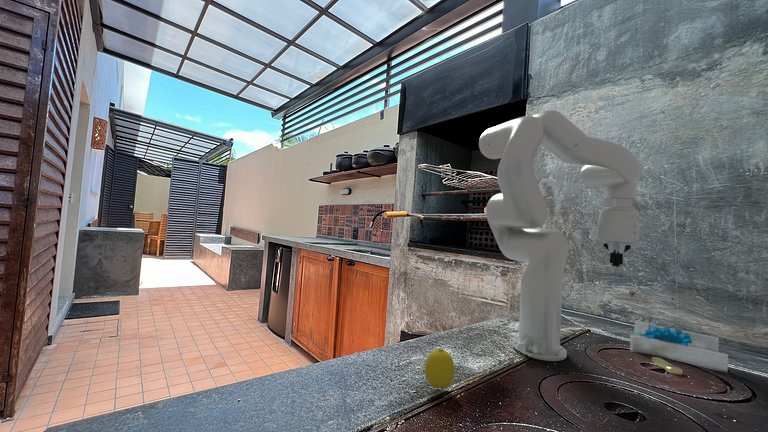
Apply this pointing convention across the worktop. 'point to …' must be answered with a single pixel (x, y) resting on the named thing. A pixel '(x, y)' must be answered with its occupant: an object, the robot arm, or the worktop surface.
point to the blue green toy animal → (668, 335)
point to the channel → (681, 348)
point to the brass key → (667, 366)
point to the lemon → (439, 368)
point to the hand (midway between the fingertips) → (615, 266)
